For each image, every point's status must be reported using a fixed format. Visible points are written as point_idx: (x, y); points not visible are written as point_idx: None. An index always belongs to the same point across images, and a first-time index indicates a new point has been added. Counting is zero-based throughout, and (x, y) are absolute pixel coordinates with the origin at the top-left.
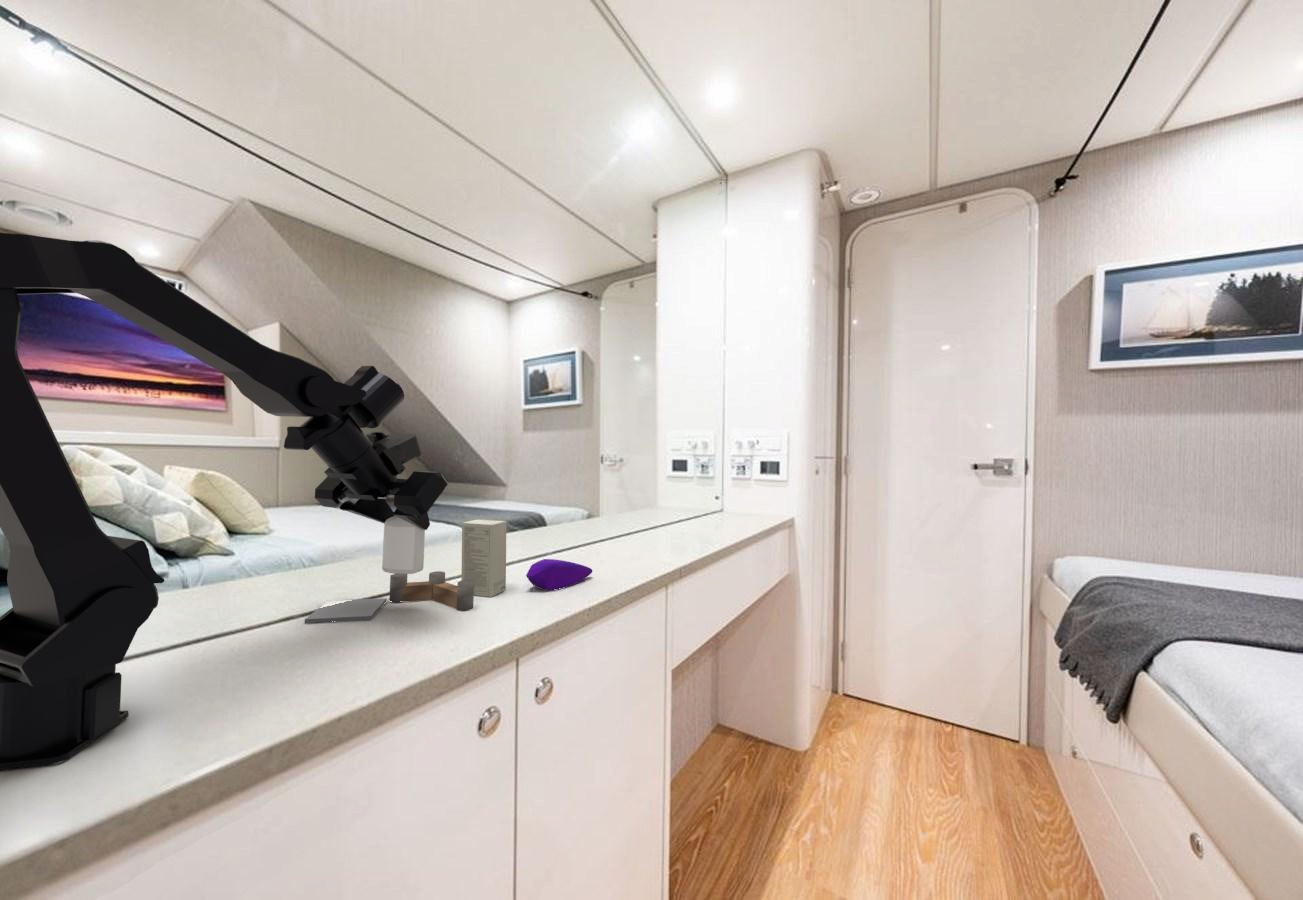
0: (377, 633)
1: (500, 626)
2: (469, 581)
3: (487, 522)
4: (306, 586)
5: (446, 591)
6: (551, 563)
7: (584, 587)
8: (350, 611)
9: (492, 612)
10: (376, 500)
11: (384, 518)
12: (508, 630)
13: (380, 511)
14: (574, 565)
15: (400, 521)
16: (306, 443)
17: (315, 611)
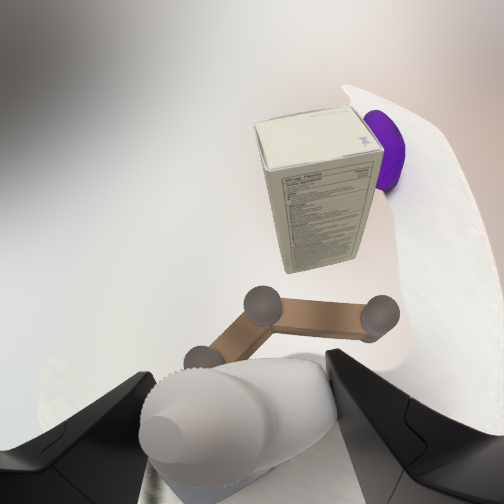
0: (345, 487)
1: (474, 343)
2: (384, 305)
3: (334, 135)
4: (45, 373)
5: (326, 331)
6: (402, 148)
7: (410, 152)
8: None
9: (421, 310)
10: (75, 496)
11: (141, 449)
12: (490, 345)
13: (118, 471)
14: (396, 126)
15: (266, 467)
16: None
17: (169, 485)
